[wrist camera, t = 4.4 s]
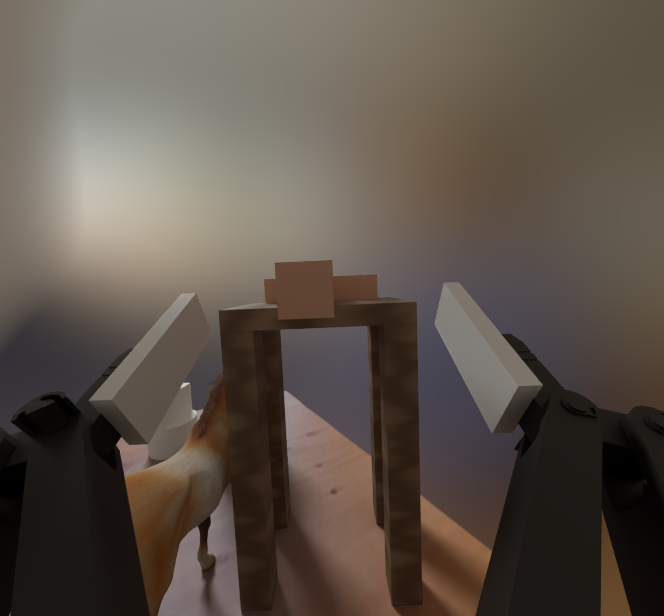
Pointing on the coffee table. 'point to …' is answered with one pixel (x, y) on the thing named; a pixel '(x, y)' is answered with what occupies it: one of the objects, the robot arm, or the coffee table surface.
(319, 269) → the terracotta T
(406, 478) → the walnut table
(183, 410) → the cylinder with rectangular tab
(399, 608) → the coffee table surface
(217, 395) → the horse figurine
